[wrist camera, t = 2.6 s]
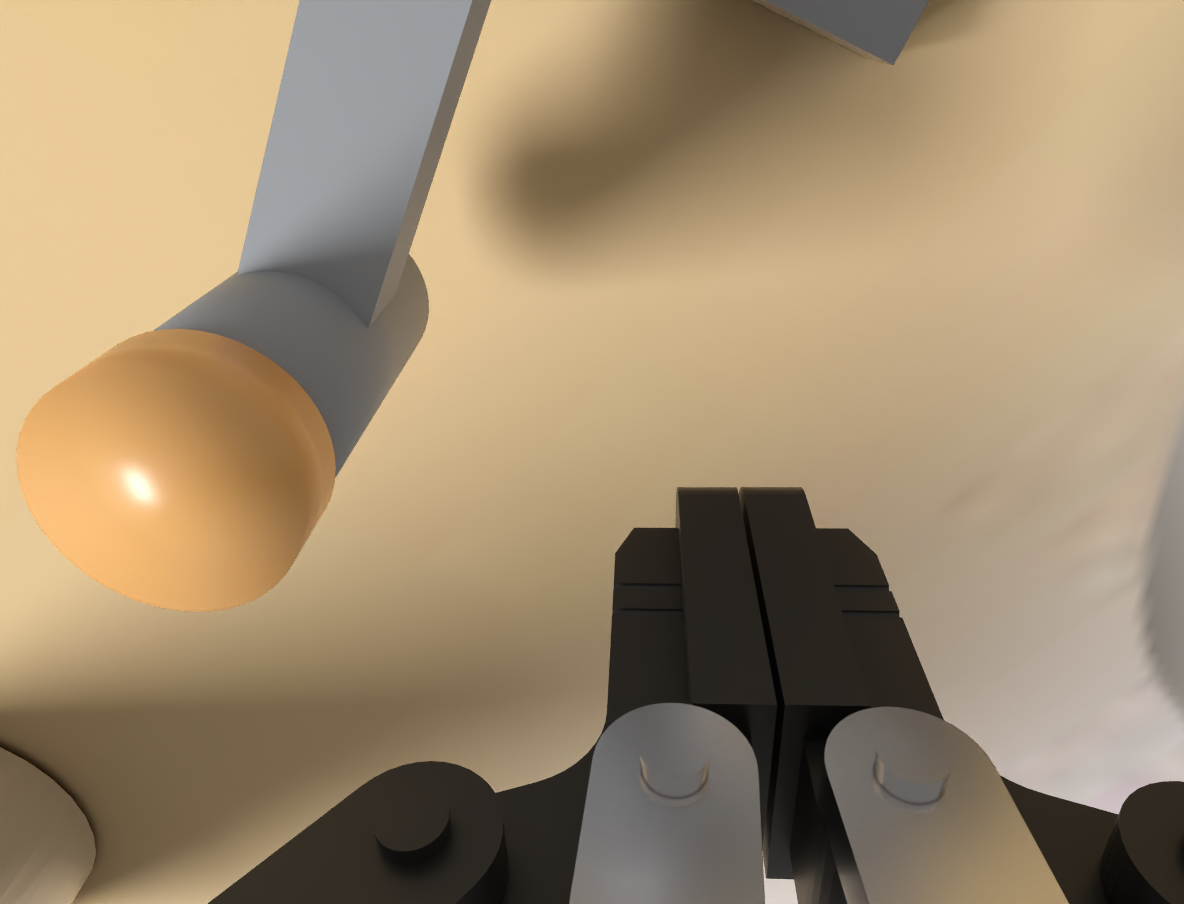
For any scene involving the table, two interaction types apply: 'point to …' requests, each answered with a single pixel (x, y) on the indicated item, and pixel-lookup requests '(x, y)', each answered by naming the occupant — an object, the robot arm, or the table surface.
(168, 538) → the orange knob lever
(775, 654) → the robot arm
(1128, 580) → the table surface
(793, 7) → the base plate
